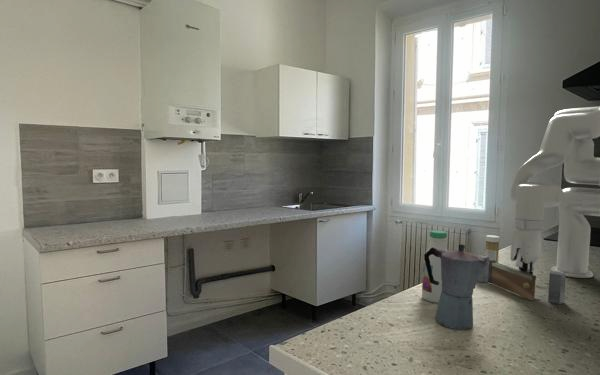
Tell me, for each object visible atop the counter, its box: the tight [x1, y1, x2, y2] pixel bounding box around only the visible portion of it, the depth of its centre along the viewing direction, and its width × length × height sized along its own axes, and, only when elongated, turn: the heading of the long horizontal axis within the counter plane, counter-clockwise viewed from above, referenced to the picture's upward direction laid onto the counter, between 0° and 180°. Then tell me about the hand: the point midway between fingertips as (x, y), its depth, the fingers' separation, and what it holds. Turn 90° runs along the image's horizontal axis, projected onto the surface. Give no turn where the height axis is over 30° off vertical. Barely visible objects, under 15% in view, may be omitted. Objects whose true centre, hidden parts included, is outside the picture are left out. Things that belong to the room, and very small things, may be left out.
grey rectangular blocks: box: [477, 254, 567, 305], centre depth 124 cm, size 3×26×8 cm, turn 35°
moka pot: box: [423, 244, 489, 331], centre depth 98 cm, size 10×15×20 cm, turn 58°
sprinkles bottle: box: [484, 234, 501, 271], centre depth 144 cm, size 5×5×13 cm
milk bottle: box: [421, 229, 449, 304], centre depth 115 cm, size 8×8×20 cm
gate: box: [487, 260, 537, 301], centre depth 123 cm, size 3×18×8 cm, turn 15°
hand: (525, 283), depth 121 cm, fingers closed
